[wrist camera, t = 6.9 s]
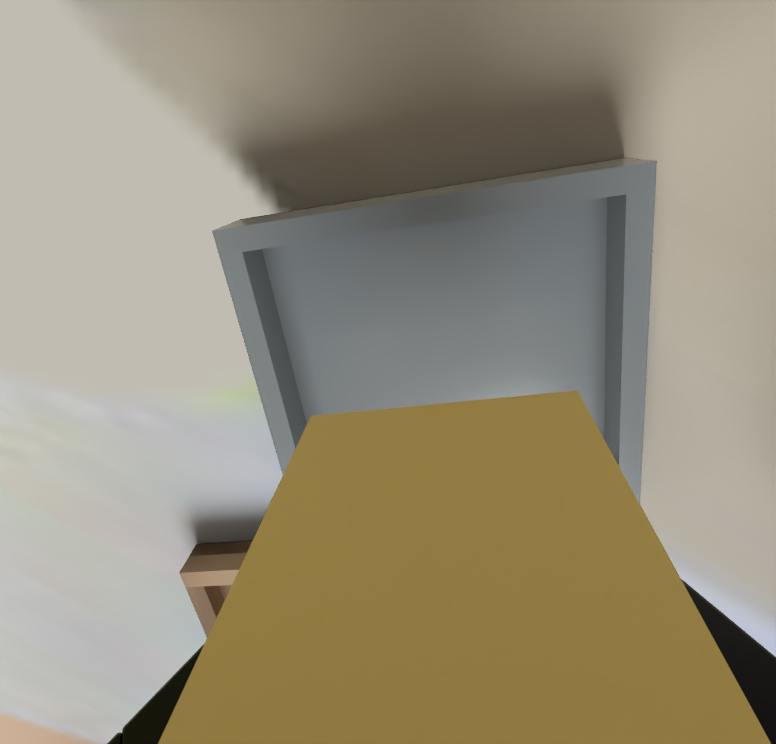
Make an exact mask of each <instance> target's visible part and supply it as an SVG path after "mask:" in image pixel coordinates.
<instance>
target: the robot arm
mask: <svg viewBox="0 0 776 744" xmlns="http://www.w3.org/2000/svg"><path fill="white" fill-rule="evenodd" d="M681 580H682V579H681ZM682 582H683V584H684V586H685V588H686V589H687V591H688V593H689V595H690V597H691V599H692V600H693V602H694V604H695V606H696V608H697V609H698V611H699V613H700V615H701V617H702V619H703V620H704V622H705V624H706V626H707V628H708V630H709V631H710V633H711V635H712V637H713V639H714V640H715V642H716V644H717V646H718V648H719V650H720V651H721V653H722V655H723V657H724V659H725V660H726V662H727V664H728V666H729V668H730V670H731V671H732V673H733V675H734V677H735V679H736V681H737V682H738V684H739V686H740V688H741V690H742V691H743V693H744V695H745V697H746V699H747V701H748V702H749V704H750V706H751V708H752V710H753V712H754V713H755V715H756V717H757V719H758V721H759V722H760V724H761V726H762V728H763V730H764V732H765V733H766V735H767V737H768V739H769V741H770V743H771V744H776V657H775V656H774V655H772V654H771V653H770V652H769V651H768V650H766V649H765V648H764V647H763V646H762V645H760V644H759V643H758V642H757V641H755V640H754V639H753V638H752V637H751V636H749V635H748V634H747V633H746V632H745V631H743V630H742V629H741V628H740V627H739V626H737V625H736V624H735V623H734V622H733V621H731V620H730V619H729V618H728V617H727V616H725V615H724V614H723V613H722V612H721V611H719V610H718V609H717V608H716V607H714V606H713V605H712V604H711V603H710V602H708V601H707V600H706V599H705V598H704V597H702V596H701V595H700V594H699V593H698V592H696V591H695V590H694V589H693V588H692V587H690V586H689V585H688V584H687V583H686V582H684V581H683V580H682ZM203 646H204V645H203ZM203 646H202V647H201V648H200V649H199V650H198V651H197V652H196V653H195V654H194V655H193V656H192V657H191V658H190V659H189V660H188V661H187V662H186V663H185V664H184V665H183V666H182V667H181V668H180V669H179V670H178V671H177V672H176V673H175V675H174V676H173V677H172V678H171V679H170V680H169V681H168V682H167V683H166V684H165V685H164V686H163V687H162V688H161V689H160V690H159V691H158V692H157V693H156V694H155V695H154V696H153V697H152V698H151V699H150V700H149V701H148V702H147V703H146V704H145V706H144V707H143V708H142V709H141V710H140V711H139V712H138V713H137V714H136V715H135V716H134V717H133V718H132V719H131V720H130V721H129V722H128V723H127V724H126V725H125V726H124V728H123V731H122V733H117V734H116V735H115V736H114V737H113V738H112V739H111V740H110V741H109V742H108V743H107V744H158V743H159V741H160V738H161V736H162V734H163V732H164V730H165V728H166V726H167V723H168V721H169V719H170V717H171V715H172V713H173V711H174V708H175V706H176V704H177V702H178V700H179V698H180V695H181V693H182V691H183V689H184V687H185V685H186V683H187V680H188V678H189V676H190V674H191V672H192V670H193V668H194V665H195V663H196V661H197V659H198V657H199V655H200V653H201V650H202V648H203Z"/></svg>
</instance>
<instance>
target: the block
mask: <svg viewBox="0 0 776 744" xmlns="http://www.w3.org/2000/svg"><path fill="white" fill-rule="evenodd" d="M158 744H771V743H770V741H769V739H768V737H767V735H766V733H765V732H764V730H763V728H762V726H761V724H760V722H759V721H758V719H757V717H756V715H755V713H754V712H753V710H752V708H751V706H750V704H749V702H748V701H747V699H746V697H745V695H744V693H743V691H742V690H741V688H740V686H739V684H738V682H737V681H736V679H735V677H734V675H733V673H732V671H731V670H730V668H729V666H728V664H727V662H726V660H725V659H724V657H723V655H722V653H721V651H720V650H719V648H718V646H717V644H716V642H715V640H714V639H713V637H712V635H711V633H710V631H709V630H708V628H707V626H706V624H705V622H704V620H703V619H702V617H701V615H700V613H699V611H698V609H697V608H696V606H695V604H694V602H693V600H692V599H691V597H690V595H689V593H688V591H687V589H686V588H685V586H684V584H683V582H682V580H681V578H680V577H679V575H678V573H677V571H676V569H675V568H674V566H673V564H672V562H671V560H670V558H669V557H668V555H667V553H666V551H665V549H664V547H663V546H662V544H661V542H660V540H659V538H658V537H657V535H656V533H655V531H654V529H653V527H652V526H651V524H650V522H649V520H648V518H647V516H646V515H645V513H644V511H643V509H642V507H641V506H640V504H639V502H638V500H637V498H636V496H635V495H634V493H633V491H632V489H631V487H630V485H629V484H628V482H627V480H626V478H625V476H624V475H623V473H622V471H621V469H620V467H619V465H618V464H617V462H616V460H615V458H614V456H613V454H612V453H611V451H610V449H609V447H608V445H607V444H606V442H605V440H604V438H603V436H602V434H601V433H600V431H599V429H598V427H597V425H596V424H595V422H594V420H593V418H592V416H591V414H590V413H589V411H588V409H587V407H586V405H585V403H584V402H583V400H582V398H581V396H580V394H579V393H578V391H577V390H575V391H565V392H555V393H544V394H534V395H523V396H513V397H502V398H492V399H482V400H471V401H461V402H450V403H440V404H429V405H419V406H409V407H398V408H388V409H377V410H367V411H356V412H346V413H335V414H325V415H315V416H311V417H310V419H309V421H308V423H307V425H306V427H305V430H304V432H303V434H302V436H301V438H300V440H299V442H298V445H297V447H296V449H295V451H294V453H293V455H292V457H291V460H290V462H289V464H288V466H287V468H286V470H285V472H284V475H283V477H282V479H281V481H280V483H279V485H278V488H277V490H276V492H275V494H274V496H273V498H272V500H271V503H270V505H269V507H268V509H267V511H266V513H265V515H264V518H263V520H262V522H261V524H260V526H259V528H258V530H257V533H256V535H255V537H254V539H253V541H252V543H251V545H250V548H249V550H248V552H247V554H246V556H245V558H244V560H243V563H242V565H241V567H240V569H239V571H238V573H237V575H236V578H235V580H234V582H233V584H232V586H231V588H230V590H229V593H228V595H227V597H226V599H225V601H224V603H223V605H222V608H221V610H220V612H219V614H218V616H217V618H216V620H215V623H214V625H213V627H212V629H211V631H210V633H209V635H208V638H207V640H206V642H205V644H204V646H203V648H202V650H201V653H200V655H199V657H198V659H197V661H196V663H195V665H194V668H193V670H192V672H191V674H190V676H189V678H188V680H187V683H186V685H185V687H184V689H183V691H182V693H181V695H180V698H179V700H178V702H177V704H176V706H175V708H174V711H173V713H172V715H171V717H170V719H169V721H168V723H167V726H166V728H165V730H164V732H163V734H162V736H161V738H160V741H159V743H158Z"/></svg>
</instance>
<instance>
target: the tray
mask: <svg viewBox="0 0 776 744" xmlns="http://www.w3.org/2000/svg"><path fill="white" fill-rule="evenodd" d="M251 543H252V541H246V542H230V543H214V544H198V545H196V546H195V548H194V549H193V551H192V553H191V554H190V556H189V558H188V559H187V561H186V563H185V564H184V566H183V568H182V569H181V571H180V575H181V578H182V580H183V582H184V585H185V587H186V589H187V592H188V594H189V596H190V599H191V601H192V603H193V606H194V608H195V610H196V613H197V615H198V617H199V620H200V622H201V624H202V627H203V629H204V631H205V634H206V636H207V638H208V635H209V633H210V631H211V629H212V627H213V625H214V623H215V620H216V618H217V616H218V614H219V612H220V610H221V608H222V605H223V603H224V601H225V599H226V597H227V595H228V593H229V590H230V588H231V586H232V584H233V582H234V580H235V578H236V575H237V573H238V571H239V569H240V567H241V565H242V563H243V560H244V558H245V556H246V554H247V552H248V550H249V548H250V545H251Z"/></svg>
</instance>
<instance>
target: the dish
mask: <svg viewBox="0 0 776 744" xmlns="http://www.w3.org/2000/svg"><path fill="white" fill-rule="evenodd" d="M656 162H657V161H653V160H643V159H633V158H621V159H615V160H608V161H602V162H596V163H590V164H583V165H577V166H571V167H565V168H558V169H552V170H546V171H540V172H533V173H527V174H521V175H515V176H508V177H502V178H496V179H490V180H483V181H477V182H471V183H465V184H458V185H452V186H446V187H440V188H433V189H427V190H421V191H415V192H408V193H402V194H396V195H390V196H383V197H377V198H371V199H365V200H358V201H352V202H346V203H339V204H333V205H327V206H321V207H314V208H308V209H302V210H296V211H289V212H283V213H277V214H271V215H264V216H258V217H252V218H246V219H240V220H238V221H235V222H233V223H231V224H228V225H226V226H223V227H221V228H219V229H216V230H213V235H214V238H215V242H216V245H217V249H218V252H219V256H220V259H221V263H222V266H223V270H224V273H225V277H226V280H227V284H228V287H229V291H230V294H231V297H232V301H233V304H234V308H235V311H236V314H237V318H238V322H239V325H240V328H241V332H242V335H243V338H244V342H245V346H246V349H247V353H248V356H249V359H250V363H251V366H252V370H253V373H254V377H255V380H256V384H257V387H258V391H259V394H260V397H261V401H262V404H263V408H264V411H265V415H266V418H267V422H268V425H269V429H270V432H271V435H272V439H273V442H274V446H275V449H276V453H277V456H278V460H279V463H280V466H281V470H282V473H283V475H284V472H285V470H286V468H287V466H288V464H289V462H290V460H291V457H292V455H293V453H294V451H295V449H296V447H297V445H298V442H299V440H300V438H301V436H302V434H303V432H304V430H305V427H306V425H307V423H308V421H309V419H310V417H311V416H315V415H325V414H335V413H346V412H356V411H367V410H377V409H388V408H398V407H409V406H419V405H429V404H440V403H450V402H461V401H471V400H482V399H492V398H502V397H513V396H523V395H534V394H544V393H555V392H565V391H575V390H577V391H578V393H579V394H580V396H581V398H582V400H583V402H584V403H585V405H586V407H587V409H588V411H589V413H590V414H591V416H592V418H593V420H594V422H595V424H596V425H597V427H598V429H599V431H600V433H601V434H602V436H603V438H604V440H605V442H606V444H607V445H608V447H609V449H610V451H611V453H612V454H613V456H614V458H615V460H616V462H617V464H618V465H619V467H620V469H621V471H622V473H623V475H624V476H625V478H626V480H627V482H628V484H629V485H630V487H631V489H632V491H633V493H634V495H635V496H636V498H637V500H638V502H639V504H640V492H641V471H642V451H643V430H644V410H645V389H646V368H647V348H648V327H649V306H650V286H651V265H652V244H653V224H654V203H655V183H656Z"/></svg>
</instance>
